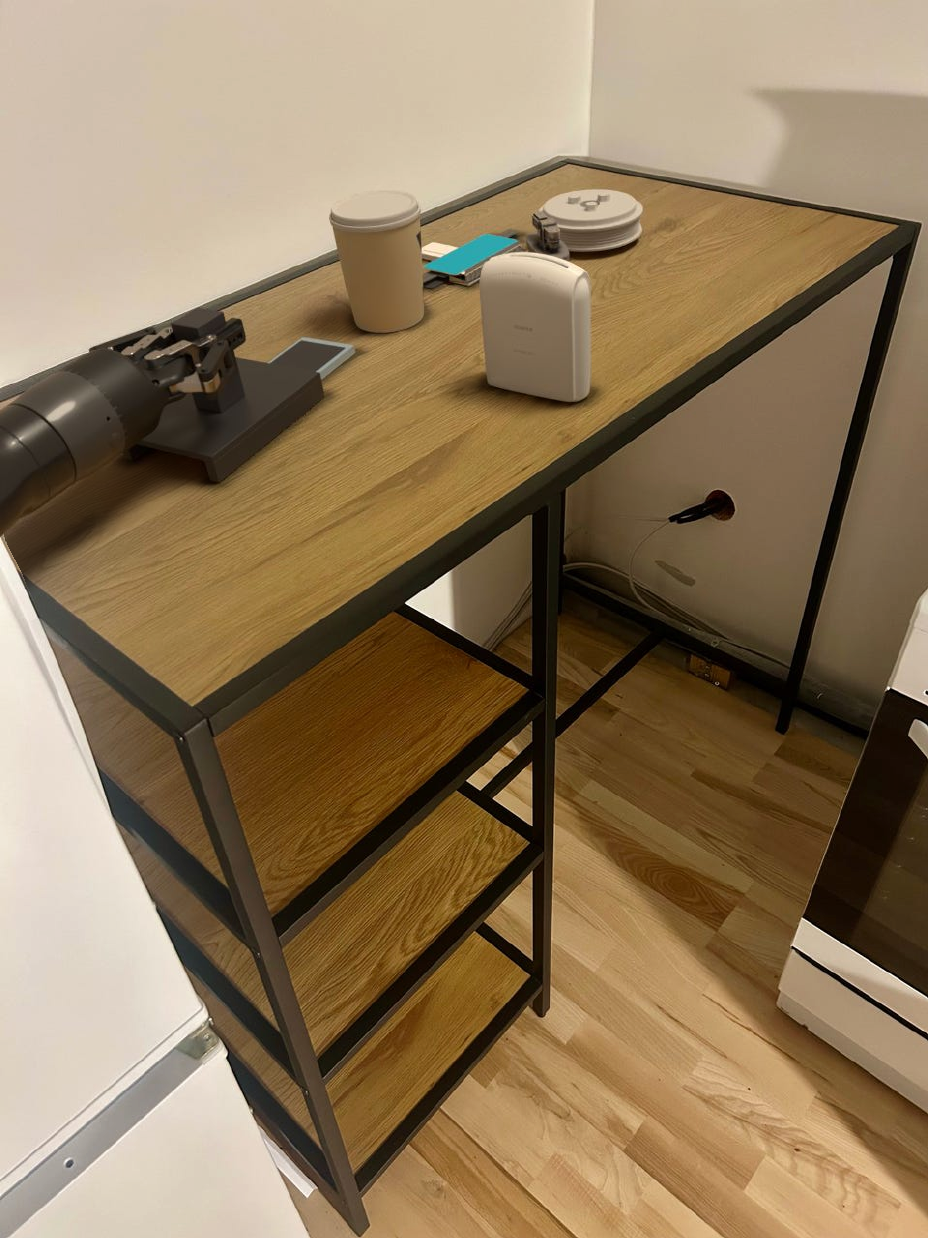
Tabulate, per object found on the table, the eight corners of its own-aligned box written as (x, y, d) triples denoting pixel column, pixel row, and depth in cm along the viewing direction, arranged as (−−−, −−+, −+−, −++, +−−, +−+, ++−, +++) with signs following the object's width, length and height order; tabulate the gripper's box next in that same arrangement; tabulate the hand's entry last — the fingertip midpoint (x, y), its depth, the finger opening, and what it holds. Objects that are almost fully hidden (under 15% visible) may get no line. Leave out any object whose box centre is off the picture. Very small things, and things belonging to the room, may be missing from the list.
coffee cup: (448, 315, 100) (438, 200, 92) (379, 344, 96) (361, 226, 88) (398, 293, 106) (384, 182, 98) (331, 319, 102) (310, 206, 94)
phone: (281, 412, 87) (279, 403, 86) (227, 401, 90) (225, 392, 89) (355, 353, 95) (353, 344, 95) (304, 344, 98) (302, 335, 97)
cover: (219, 483, 78) (184, 367, 71) (124, 458, 83) (82, 348, 76) (324, 396, 89) (303, 288, 82) (235, 379, 93) (207, 275, 86)
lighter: (576, 327, 96) (576, 228, 89) (545, 333, 95) (542, 234, 89) (551, 298, 102) (550, 203, 95) (522, 303, 101) (518, 209, 95)
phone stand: (473, 227, 121) (473, 213, 120) (548, 241, 115) (548, 227, 113) (369, 280, 110) (367, 266, 109) (445, 299, 104) (444, 285, 103)
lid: (657, 228, 115) (659, 185, 112) (615, 265, 107) (617, 220, 104) (565, 218, 120) (565, 177, 117) (520, 252, 113) (518, 209, 109)
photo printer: (479, 387, 88) (469, 256, 79) (502, 368, 90) (495, 239, 82) (576, 409, 83) (576, 273, 75) (597, 388, 85) (600, 254, 77)
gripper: (135, 387, 66) (278, 293, 77) (1, 359, 71) (152, 275, 82) (166, 476, 71) (297, 376, 82) (38, 443, 76) (177, 353, 87)
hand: (224, 325), depth 82 cm, fingers closed on cover, 3 cm apart
